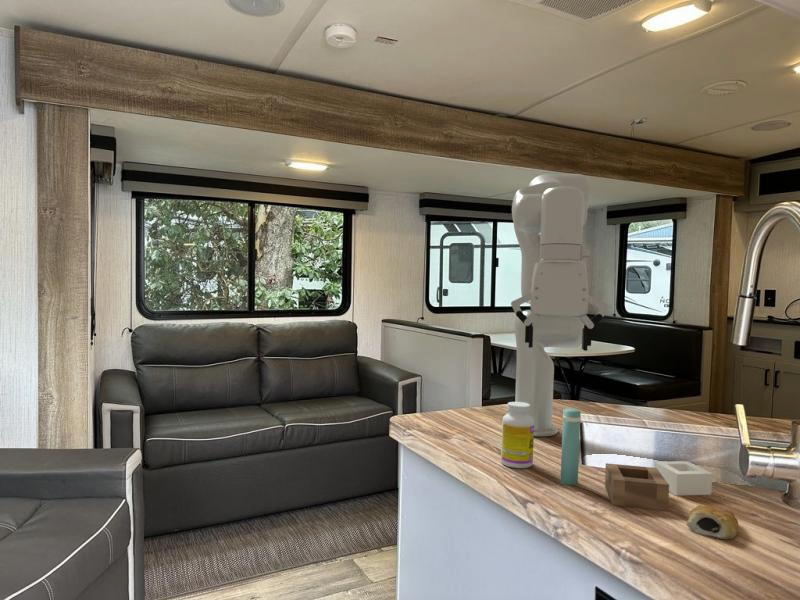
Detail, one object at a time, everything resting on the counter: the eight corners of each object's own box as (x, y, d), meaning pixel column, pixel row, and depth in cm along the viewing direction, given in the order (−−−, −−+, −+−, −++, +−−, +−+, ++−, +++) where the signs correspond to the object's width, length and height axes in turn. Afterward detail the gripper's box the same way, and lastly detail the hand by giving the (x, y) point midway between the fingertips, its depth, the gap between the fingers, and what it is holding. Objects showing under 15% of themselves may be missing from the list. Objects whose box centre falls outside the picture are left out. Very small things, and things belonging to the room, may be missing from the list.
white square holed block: (654, 481, 109) (654, 461, 109) (686, 481, 110) (687, 461, 110) (676, 495, 102) (677, 474, 102) (711, 494, 103) (712, 473, 103)
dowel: (559, 478, 109) (562, 408, 109) (577, 480, 109) (579, 409, 108) (560, 484, 106) (563, 411, 106) (578, 486, 105) (581, 413, 105)
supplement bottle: (533, 470, 113) (535, 408, 113) (500, 467, 115) (502, 406, 114) (532, 460, 120) (534, 401, 120) (501, 457, 121) (503, 399, 121)
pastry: (699, 513, 95) (700, 491, 94) (744, 526, 90) (746, 503, 90) (684, 531, 88) (685, 507, 87) (733, 546, 83) (734, 521, 83)
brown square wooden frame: (604, 486, 106) (605, 463, 105) (655, 491, 104) (656, 467, 104) (612, 504, 97) (613, 479, 97) (668, 510, 95) (669, 484, 95)
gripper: (607, 257, 104) (603, 349, 104) (513, 256, 107) (510, 344, 108) (613, 255, 96) (609, 353, 97) (512, 253, 100) (508, 347, 100)
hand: (557, 348), depth 102 cm, fingers open, 9 cm apart
